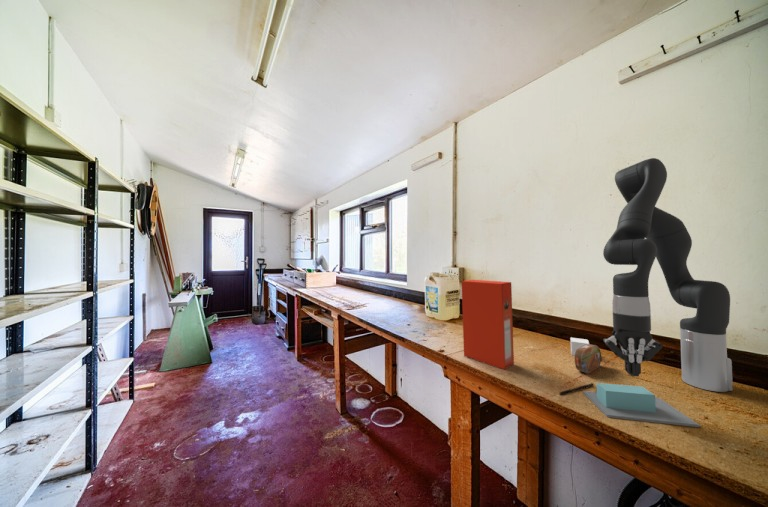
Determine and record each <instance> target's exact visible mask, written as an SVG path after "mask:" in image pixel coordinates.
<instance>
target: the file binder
mask: <svg viewBox="0 0 768 507" xmlns="http://www.w3.org/2000/svg"><path fill="white" fill-rule="evenodd" d="M512 296H513V295H512V282H511V281H497V280H482V279H481V280H480V279H466V280H462V281H461V298H462V300H461V301H462V332H463V333H462V334H463V336H462V337H463V338H462V339H463V357H465V356H467V357H466V358H468V357H470V358H469V359H471V358H473V359H472V360H474V359H475V361H477V360H478V361H477V362H480V361H481V362H480V363H483V362H484V363H483V364H486V365H489V366H493V367H494V368H498V369H501V370H506V369H508V368H510V367H512V366H513V365H514V363H515V360H514V357H515V356H514V355H515V354H514V330H513V329H514V328H513V327H514V326H513V325H514V324H513V297H512Z"/></svg>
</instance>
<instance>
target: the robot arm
mask: <svg viewBox="0 0 768 507" xmlns="http://www.w3.org/2000/svg"><path fill="white" fill-rule="evenodd" d="M667 178H668V171H667V168H666V166H665V164H664V163H663V161H661V159H659V158H655V157H651V158H648V159H647V158H646V159H644V160H641V161H639V162H637V163H635V164H631V165H630V166H628V167H625V168H622V169H620V170H618V171H616V173H615V174H614V182H615V185H616V187H617V189H618V191H619V193H620V194H621V196H622V198H624V200H625V202H626V205H625V206H624V207H623V209H622V210H621V212H620V214H619V217H618V221H617V225H616V229H615V231H614V232H613V233H612V235H611V237H610V238H609V239H608V241H607V242H606V244H605V246H604V248H603V250H602V251H603V257H604V261H606V262H607V263H609V264H611V265H615V266H617V265H618V266H619V265H622V266H623V265H624V266H625V265H626V266H636V269H634V271H630V272H621V273H616V274H615V275H614V276H613V278H612V286H613V287H612V293H613V295H612V296H613V297H612V303H611V304H612V326H613V331H612V332H611V336H610V337H608V338H606V337H604V338H603V340H602V342H603V343H604V344H605V345H606V346H607V348H609V349H610V351H611V352H613V354H614V355H615V356H616V357H618V358H620V359H621V360H623V361H624V370H625V372H626V373H627V374H628V375H629V376H631V377H640V375H641V373H642V366H641V363H642V362H650V361H651V360H652V359H653V358H654V357H655V355H657V354H658V352H659V351H661V349H662V348H664V344H662V343H660V342H658V341H656V340H655V339H653V335H652V334H651V331H652V315H651V314H652V313H651V302H650V298H649V297H650V296H649V280H650V273H651V270H652V267H653V265H654V262H655V260H657V262H658V264H659V267H660V269H661V271H662V274H663V276H664V280H665V282H666V285H667V288H668V291H669V293H670V295H671V296H670V297H671V298H672V299H673V300H674V301H675V303H677V304H678V305H679V306H681V307H682V306H683V307H686V308H689V309H690V308H691V309H696V313H695V315H694V316H693V317H687V318H686V317H685V318H682V319H680V322H679V330H680V332H679V333H680V335H679V336H680V362H681V363H680V364H681V365H680V366H681V368H680V369H681V380H682V381H683V382H684V383H685V384H688V385H690V386H693V387H695V388H699V389H702V390H707V391H712V392H719V393H726V392H729V391H731V392H733V390H734V388H733V365H732V364H733V362H732V359H731V358H729V357H728V352H727V351H728V347H727V346H728V345H727V344H728V343H727V328H728V326H729V324H730V314H731V312H730V310H731V294H730V291H729V289H728V288H727V286H726V285H725V284H723V283H721V282H719V281H713V280H702V279H701V280H700V279H694V278H693V275H691V273H690V270H689V268H688V265H687V262H688V257H689V256H690V252H691V250H692V246H693V245H692V244H693V240H692V237H691V234H690V233H689V230H688V228H686V226H685V223H684V222H683V221H682V220H681V219H680V218H678V217H677V216H675V215H673V214H671V213H670V212H667V211H665V210H663V209H661V208H659V207H657V206H656V205H657V202H658V200H659V198H660V196H661V195H662V193H663V191H664V190H663V189H664V187H665V185H666V183H667ZM617 345H619V346H620V348H619V347H618V346H617Z"/></svg>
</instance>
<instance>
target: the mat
mask: <svg viewBox="0 0 768 507" xmlns="http://www.w3.org/2000/svg"><path fill="white" fill-rule="evenodd" d="M582 393H583V395H584V396H586V398H587V399H588V400H590V402H591V403H593V405H595V406H596V408H598V410H599V411H600V412H601V413H602V414H604V416H605V417H606V418H613V419H621V420H630V421H640V422H649V423H657V424H666V425H675V426H676V425H677V426H685V427H691V428H692V427H694V428H701V427H700V424H699V423H697V422H696V421H694V420H693V419H691V418H690V417H688V416H687V415H686V414H684V413H683V412H681V411H679V410H678V409H677V408H675V407H673V406H672V405H671V404H669V403H668V402H666V401H664V400H663V399H661V397H655V404H656V412H647V411H637V410H627V409H618V408H608V407H605V406H604V405H603V404H602V403H601V402H600V401H599V400H598V399H597V391H589V390H588V391H586V390H583V392H582Z"/></svg>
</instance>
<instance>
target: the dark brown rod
mask: <svg viewBox="0 0 768 507" xmlns="http://www.w3.org/2000/svg"><path fill="white" fill-rule="evenodd" d="M593 386H594V383H592V382H591V383H587V384H583V385H580V386H576V387H573V388H570V389H567V390H563V391H560V392H559V393H558V394H559V396H564V395H567V394H570V393H573V392H577V391H580V390H584V389H587V388H590V387H593Z"/></svg>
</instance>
